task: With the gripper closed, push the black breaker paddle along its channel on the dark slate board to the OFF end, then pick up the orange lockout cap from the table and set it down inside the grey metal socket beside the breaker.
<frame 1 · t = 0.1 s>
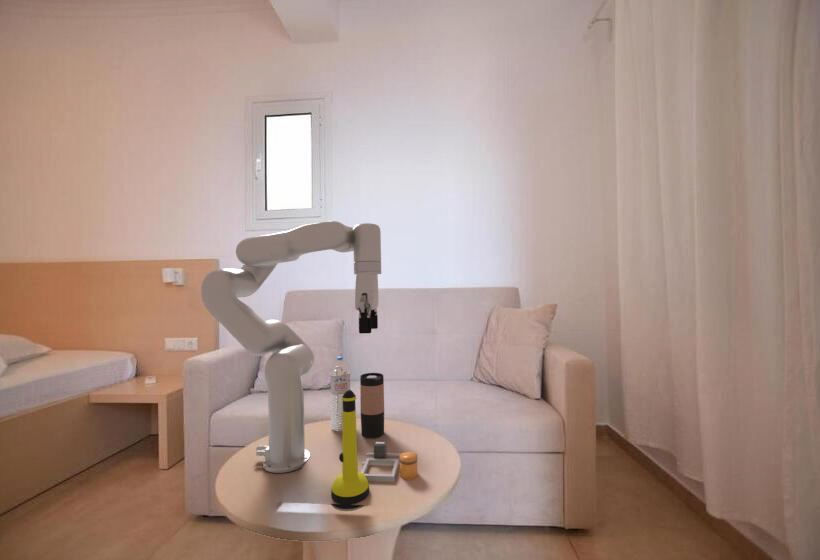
hand: (368, 330, 98), 37 cm above the table, tool pointing down, fingers open, 9 cm apart
lockout cap: (408, 479, 89), on the table
breaker toggle: (380, 451, 97), point 4 cm above the table, slide at 0.0 cm
flashlight: (350, 499, 81), on the table
water bottle: (341, 431, 120), on the table
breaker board: (372, 471, 93), on the table
travel mug: (372, 438, 114), on the table
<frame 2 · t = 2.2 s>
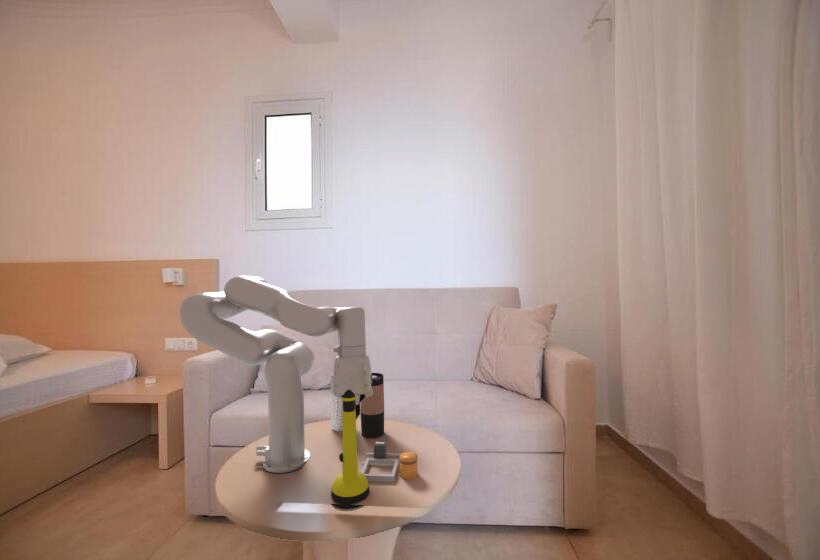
hand: (354, 417, 98), 13 cm above the table, tool pointing down, fingers closed
nothing on the table moved.
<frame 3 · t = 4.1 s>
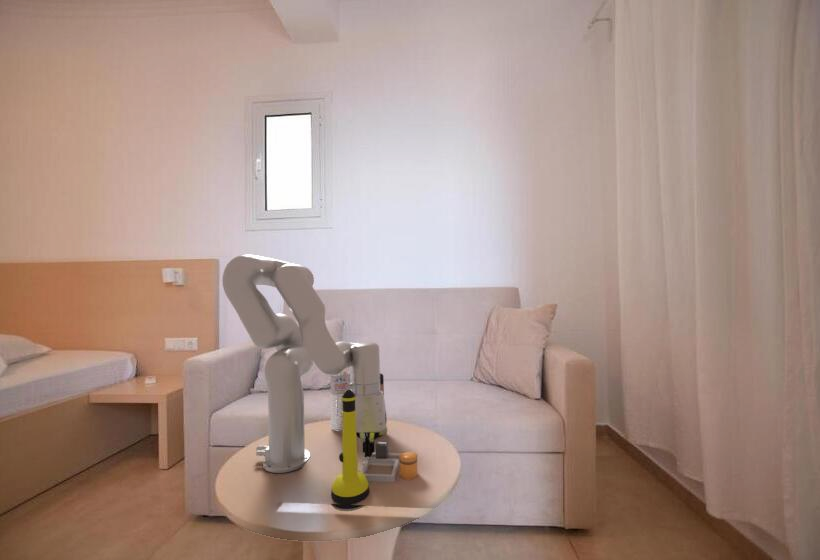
hand: (368, 454, 97), 3 cm above the table, tool pointing down, fingers closed
breaker toggle: (382, 451, 97), point 4 cm above the table, slide at 0.6 cm, touching gripper
everything else where it was.
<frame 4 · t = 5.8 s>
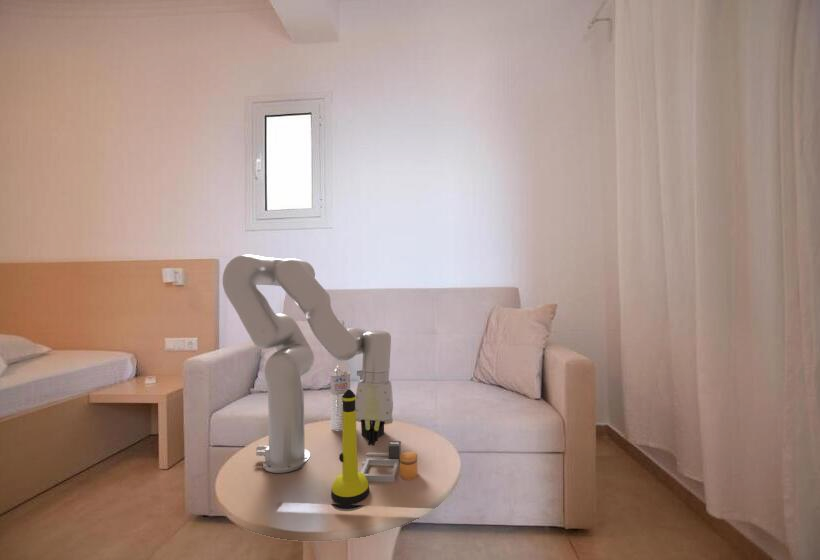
hand: (372, 443, 97), 6 cm above the table, tool pointing down, fingers closed
breaker toggle: (394, 451, 96), point 4 cm above the table, slide at 4.0 cm
everything else where it was.
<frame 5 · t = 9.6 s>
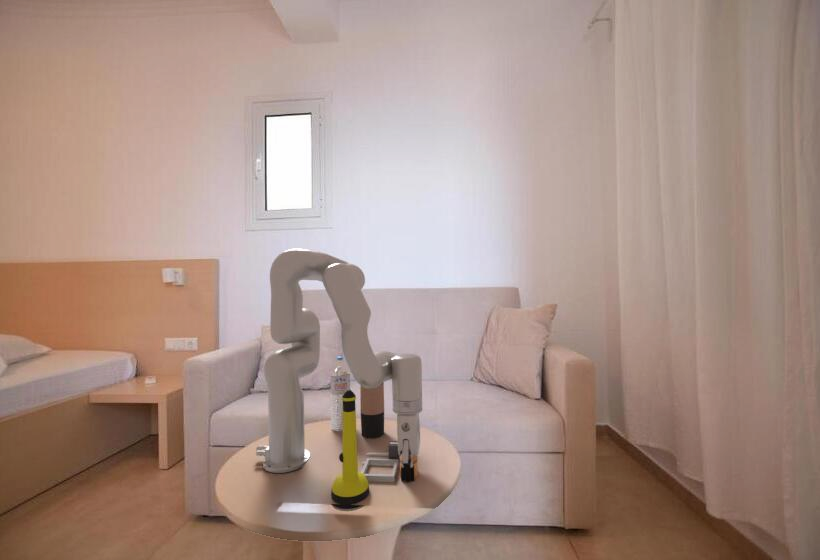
hand: (408, 476, 89), 1 cm above the table, tool pointing down, fingers closed on lockout cap, 4 cm apart
lockout cap: (408, 479, 89), on the table, touching gripper
everything else where it was.
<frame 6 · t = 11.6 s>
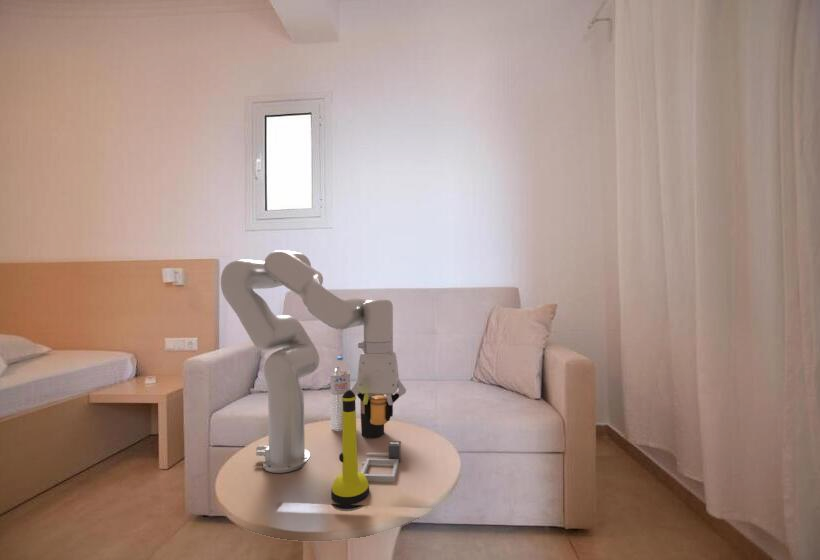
hand: (378, 418, 91), 15 cm above the table, tool pointing down, fingers closed on lockout cap, 4 cm apart
lockout cap: (378, 421, 91), point 14 cm above the table, touching gripper
everything else where it was.
when the fingers open (4 cm above the table, at t = 14.0 s): lockout cap drops 2 cm, resting on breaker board.
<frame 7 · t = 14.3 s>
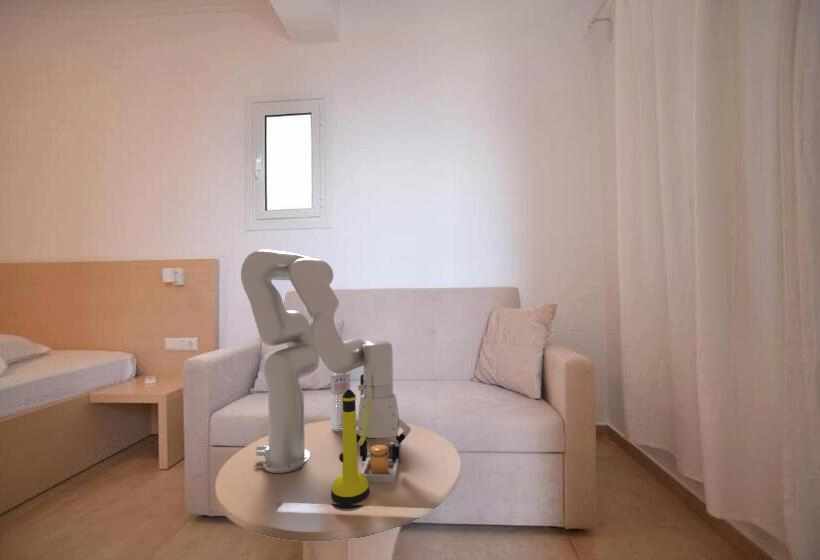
hand: (379, 459, 90), 5 cm above the table, tool pointing down, fingers open, 7 cm apart
lockout cap: (379, 472, 90), point 1 cm above the table, touching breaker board
everything else where it was.
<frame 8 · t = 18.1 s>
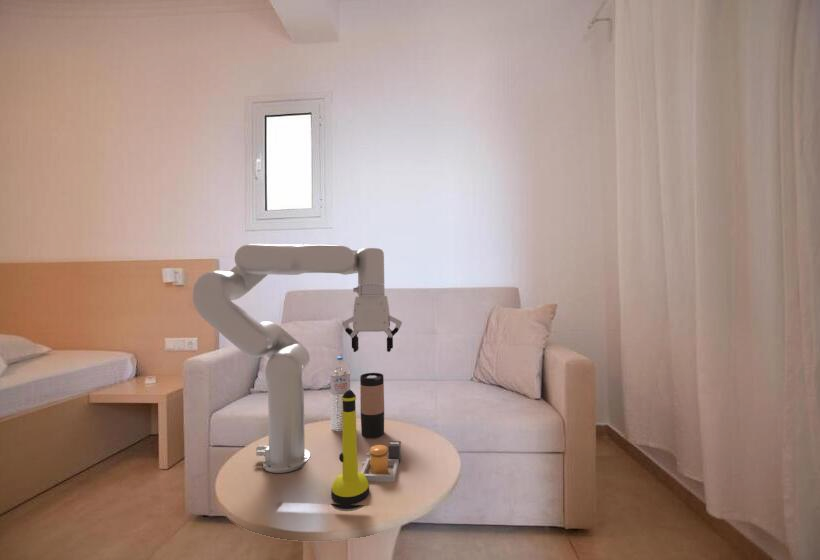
hand: (372, 351, 101), 30 cm above the table, tool pointing down, fingers open, 9 cm apart
nothing on the table moved.
at the end: breaker toggle slide at 4.0 cm; lockout cap 0.2 cm from the target spot, point 1.2 cm above the table; lockout cap tilted 1° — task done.
